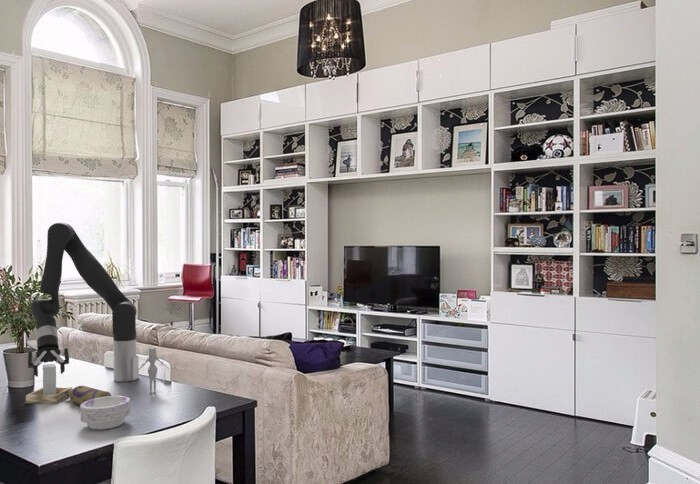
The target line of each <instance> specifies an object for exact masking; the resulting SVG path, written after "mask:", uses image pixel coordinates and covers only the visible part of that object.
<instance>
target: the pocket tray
mask: <svg viewBox="0 0 700 484" xmlns="http://www.w3.org/2000/svg"><path fill="white" fill-rule="evenodd" d="M70 388H72V387H70V386H68V387H67V386H65V387H63V386H62V387H59V386H56V395H43V386H42V387H41V388H38V389H36V390H34V391H32V392H30V393H28V394H26V395H25V404H29V405H30V404H32V405H33V404H36V405H37V404H41V405H42V404H58V403H60V402H62V401H64V400H65V399H67V398H70V397H69V396H67V394H66V393H65V392H66V390H67V389H70ZM72 389H73V388H72Z"/></svg>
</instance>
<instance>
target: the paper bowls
mask: <svg viewBox="0 0 700 484" xmlns="http://www.w3.org/2000/svg"><path fill="white" fill-rule="evenodd" d="M131 405H132V404H131V398H130V397H129V396H124V395H112V396H106V397H100V398H95V399H91V400H88V401H85V402H83V403H82V404H81V405H79V408H80V409H79V416H80V417H79V418H80V421H81V422H82V423H86V424H87V426H88V428H89V429H91V430H95V431H96V430H99V431H100V430H109V429H114V428H117V427H119V426H121V425H123V423H124V421H125V419H126V418H127V417H128V416H130V415H131Z"/></svg>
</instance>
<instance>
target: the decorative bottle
mask: <svg viewBox="0 0 700 484" xmlns="http://www.w3.org/2000/svg"><path fill="white" fill-rule="evenodd" d="M65 393H66V394H67V396H69V397H68V398H69V400H70V402H71V403H73V404H76V405H79V406H80V405H81V404H82V403H83V402H85V401H88V400H91V399H95V398H100V397H106V396H113V395H112V393H111V392H109V391H106V390H101V389H98V388H93V387H89V386H87V385H86V386H85V385H78V386H75V387H74V388H70V389H67V390H66V392H65Z"/></svg>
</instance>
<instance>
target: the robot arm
mask: <svg viewBox="0 0 700 484" xmlns="http://www.w3.org/2000/svg"><path fill="white" fill-rule="evenodd" d="M46 236H47V237H46V238H47V240H46V241H47V243H46V257H45V261H44V262H45V263H44V269H43V272H42V276H41V281H40V288H39V290H40V291H39V292H41V293H43V294H46V295H49V296H50V299H48V298H35V299H34V300H32V303H31V305H30V310H31V314H32V316H33V318H34V320H35V324H36V352H32V351H28V354H27V355H28V356H27V358H28V359H27V360H28V361H27V368H28V369H33V371H32V372H33V376H35V377H39V371H38V368H39V366H41V365H42V364H43V363H53V362H55V363H57V364H58V365H59V368H60V369H59V370H60V374H61V375H62V374H63V373H65V372H66V371H65V370H66V369H65V368H66V366H65V365H68V364H70V356H69V355H70V354H69V349H68V348H67V347H66V348H64V349H61V350H60V349H59V347H60V346H59V337H58V336H59V335H58V329H57V320H56V318H55V317H56V316H57V315H58V314H59V313H60V309H61V308H60V307H61V306H60V298H59V296H60V295H59V293H60V285H61V281H62V274H63V259H64V258H63V257H64V253H66V254H67V255H68V256H69V257H70V260H71V261H72V263H73V265H74V267H75V269H76V271H77V272H78V274H79V276H80V277H81V278H82V280H83V281H84V282H85V283H86V285H88V286H89V288H91V289H92V291H94V293H96V294H97V295H99V296H100V297H101V298H102V299H103V300H104V301H105V302H106V304H107V305H108V306H109V308H110V309H111V311H112V317H111V320H112V321H111V323H112V337H113V339H112V340H113V341H112V342H113V381H114V382H121V383H123V382H133V381H134V382H135V380H137V379H138V378H139V376H140V375H139V371H140V369H139V368H140V367H139V356H138V354H137V328H136V326H137V324H136V316H137V308H136V306H135V304H134V303H133V302H132V301H131V300H130V299H129V298H127V296H126V295H124V293H123V292H122V291H121V290H120V289H119V288H118V285H116V283H115V281H114V280H113V278H112V277H111V275H110V274H109V273H108V271H107V270H106V268H105V267H104V266H103V265H102V264H101V263H100V261H99V260H98V259H97V258H96V256H94V255H93V253H92V252H91V251H89V249H88V248H87V247H86V246H85V244H84V243H83V241H82V240H81V238H80V237H79V235H78V234H77V232H76V230H75V229H74V227H73V226H71V224H69V223H67V222H55V223H53V224H51V225H50V226H49V227H48V229H47V235H46ZM60 354H62V355H60ZM61 356H63V357H64V359H63V358H62V357H61ZM35 357H36V358H37V359H36V360H35V361H34V362H33V361H32V360H33V359H34V358H35ZM138 369H139V371H138ZM137 371H138V372H137Z"/></svg>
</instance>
